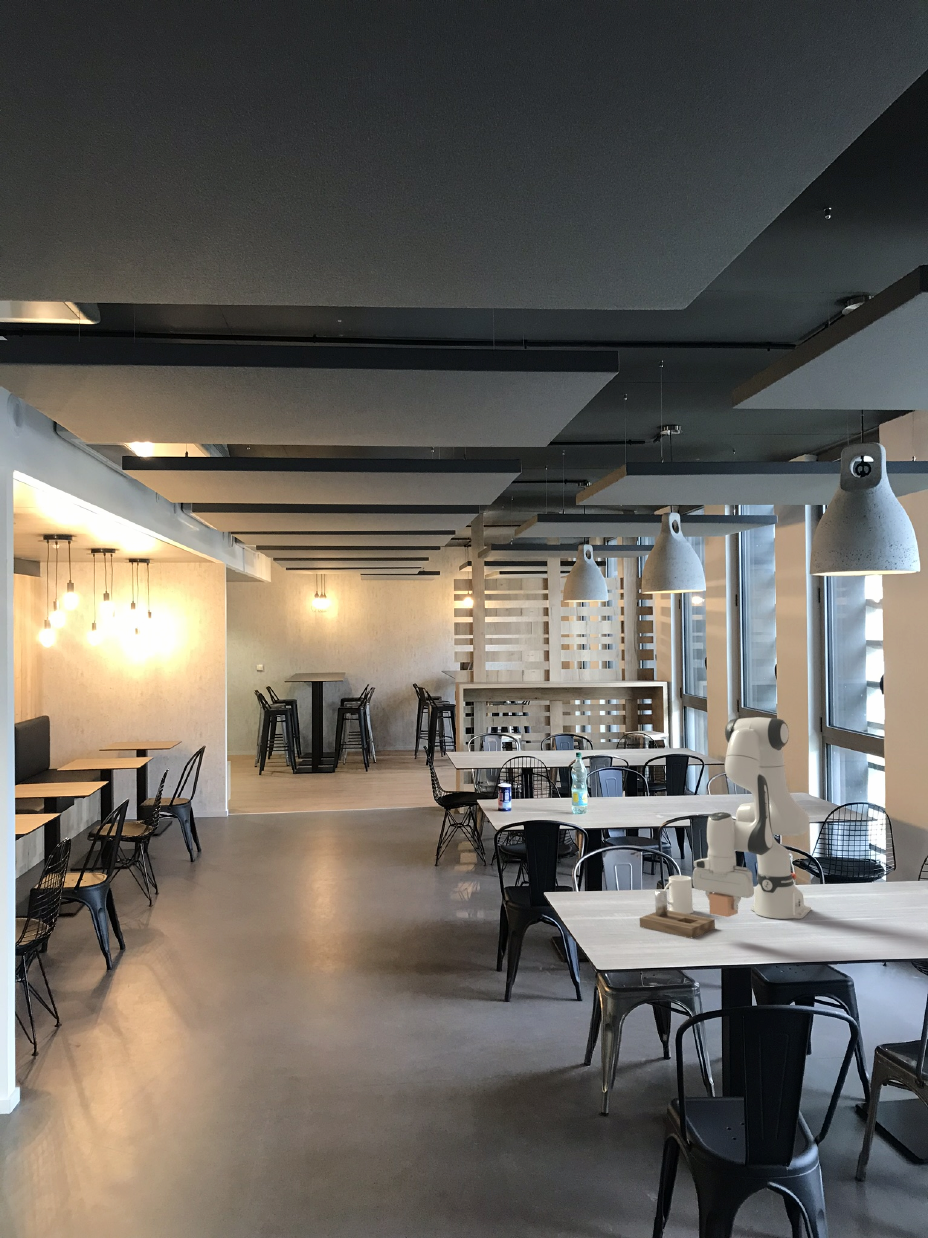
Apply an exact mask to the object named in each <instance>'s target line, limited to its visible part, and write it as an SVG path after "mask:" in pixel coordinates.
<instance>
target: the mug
mask: <svg viewBox="0 0 928 1238" xmlns="http://www.w3.org/2000/svg"><path fill="white" fill-rule="evenodd" d="M692 888H693V880H692V877H691V876H688V875H679V874H678V875H677V874H676V875H671V876H669V877H668V883H667V884H666V886H665V887H664V889H663V891H666V892H667V889H669V890H668V891H669V892H668V893H669V896H668V897H669V900H667V905H669V909H668V910H670V911H675V912H680V913H685V914H690V915H691V914H692V913H694V907H693V905H694V904H693V889H692Z"/></svg>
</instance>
